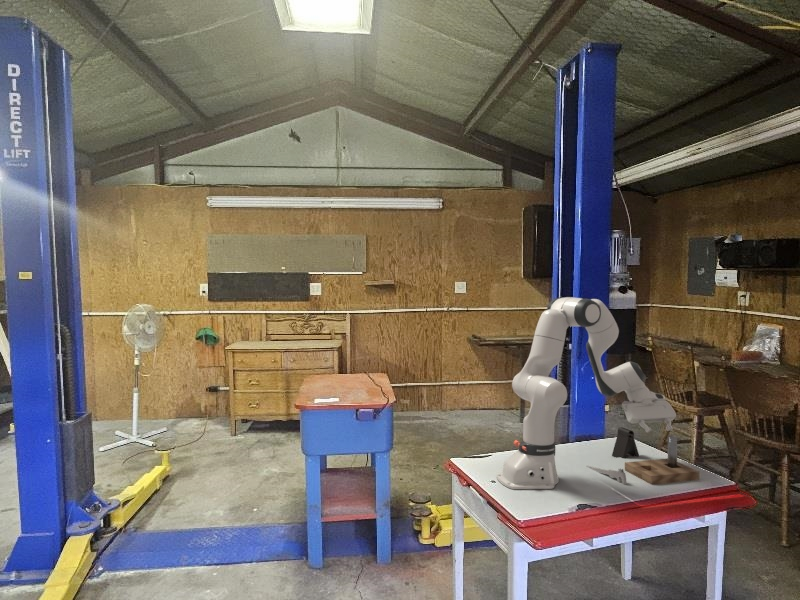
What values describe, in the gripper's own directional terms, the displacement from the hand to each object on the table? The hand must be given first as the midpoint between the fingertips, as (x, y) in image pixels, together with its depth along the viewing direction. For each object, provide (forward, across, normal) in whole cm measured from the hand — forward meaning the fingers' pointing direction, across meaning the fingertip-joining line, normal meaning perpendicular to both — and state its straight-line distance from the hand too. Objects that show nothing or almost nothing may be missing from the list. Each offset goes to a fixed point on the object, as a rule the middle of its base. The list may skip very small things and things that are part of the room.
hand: (660, 431), depth 182 cm
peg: (+14, 0, +6) cm, 16 cm away
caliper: (+12, -25, +11) cm, 30 cm away
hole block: (+15, -5, +7) cm, 17 cm away
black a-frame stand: (0, -3, +22) cm, 22 cm away
